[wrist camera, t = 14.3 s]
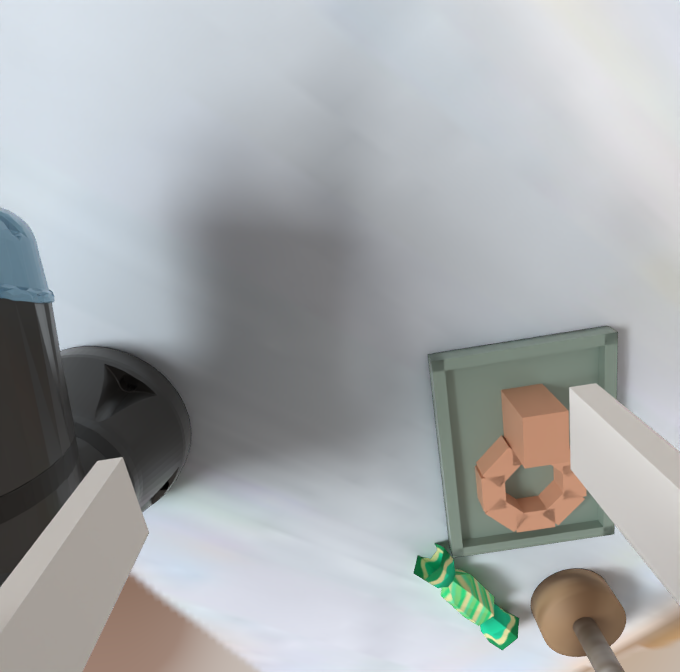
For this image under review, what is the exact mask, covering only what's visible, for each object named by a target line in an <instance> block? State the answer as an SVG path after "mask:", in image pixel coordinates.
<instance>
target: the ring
mask: <svg viewBox="0 0 680 672" xmlns="http://www.w3.org/2000/svg"><path fill="white" fill-rule="evenodd" d="M501 399H502V415H503V431H504V437H503V436H502V435H501V436H500V437H499V438H498V439H497V440H496V441H495V442H494V444H493V445H492V446H491V447H490V448H489V449H488V450H487V451H486V452H485V453H484V454H483V456H482V457H481V458H480V459H479V460H478V461H477V462H476V464H477V465H476V466H475V474H476V485H477V497H478V499H479V502H480V504H481V506H482V508H483V511H484V512H485V514H486V515H488V516H490V517H491V518H493V519H494V520H496V521H497V522H499V523H501V524H502V525H504V526H505V527H507V528H509V529H510V530H512V531H513V532H515V530H516V531H517V533H518V532H524V531H531V530H538V529H545V528H551V527H555V524H557V525H559V524H560V523H561V522H562V521H563V520H564V519H565V518H566V517H567V516H568V515H569V514H570V513H571V512H572V511H573V510H574V509H575V508H577V507H578V506H579V505H580V504H581V503H582V502H583V501H584V500H585V498H584V496H586V488H585V486H584V485H583V484H582V483H581V481H580V480H579V479H578V478H577V476H576V475H575V474H574V473H573V471H572V470H571V463H570V445H569V411H568V410H567V409H566V407H565V406H564V405H563V404H562V403H561V402H560V401H559V400H558V399H557V398H556V397H555V396H554V395H553V394H552V393H551V392H550V391H549V390H548V389H547V388H546V387H545V386H544V385H543V384H536V385H529V386H523V387H517V388H510V389H504V390H501ZM520 465H523V466H524V468H532V467H539V466H545V465H552V466H553V471H554V480H553V481H552V482H551V483H550V484H549V485H548V486H547V487H546V488H545V489H544V490H543V491H542V492H541V493H540V494H539V495H538V496H532V497H525V498H518V499H515V498H514V497H512V496H510V495H509V494H507V493H506V491H505V481H506V480H507V479H508V478H509V477H510V476H511V475H512V474H513V473H514V472H515V471H516V470H517V469H518V468H519V466H520Z"/></svg>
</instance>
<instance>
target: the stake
mask: <svg viewBox="0 0 680 672" xmlns="http://www.w3.org/2000/svg"><path fill="white" fill-rule="evenodd" d="M531 611H532V614H533V616H534V618H535V620H536V622H537V625H538V627H539V629H540V631H541V633H542V636H543V638H544V640H545V642H546V643H547V645H548V646H549V647H550V648H551V649H552V650H554V651H555V652H557V653H559V654H562V655H566V656H572V657H581V656H587V657H588V659H589V661H590V662H591V664H592V666H593V668H594V670H595V672H624V670H623V668H622V666H621V665H620V663H619V661H618V660H617V658H616V656H615V654H614V653H613V651H612V649H611V648H610V646H611V645H612V644H613V643H614V642H615V641H616V640H617V639H618V638H619V637H620V635H621V634H622V632H623V630H624V628H625V624H626V614H625V611H624V609H623V607H622V605H621V604H620V602H619V601H618V599H617V598H616V596H615V595H614V593H613V592H612V590H611V589H610V587H609V586H608V584H607V583H606V581H605V580H604V579H603V578H602V577H601V576H600V575H598V574H597V573H595V572H592V571H590V570H586V569H568V570H563V571H560V572H557V573H555V574H553V575H551V576H549V577H548V578H546V579H545V580H544V581H542V582H541V583H540V584H539V585H538V587H537V588H536V589H535V591H534V593H533V595H532V598H531Z"/></svg>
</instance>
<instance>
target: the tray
mask: <svg viewBox="0 0 680 672" xmlns="http://www.w3.org/2000/svg"><path fill="white" fill-rule="evenodd" d="M617 343H618V332H617V331H615V330H614V329H612V328H610V327H609V326H603V327H596V328H590V329H584V330H577V331H571V332H565V333H559V334H552V335H546V336H540V337H533V338H527V339H521V340H515V341H508V342H502V343H496V344H490V345H483V346H477V347H471V348H464V349H458V350H452V351H446V352H439V353H433V354H428V362H429V371H430V380H431V388H432V397H433V406H434V415H435V424H436V433H437V441H438V450H439V459H440V468H441V477H442V486H443V495H444V503H445V512H446V521H447V530H448V539H449V546H450V550H451V553H452V556H453V558H456V557H463V556H470V555H477V554H484V553H490V552H497V551H504V550H511V549H517V548H524V547H531V546H538V545H545V544H551V543H558V542H565V541H572V540H578V539H585V538H592V537H599V536H605V535H612V534H614V523H613V522H612V520H611V519H610V518H609V517H608V515H607V514H606V513H605V512H604V510H603V509H602V508H601V507H600V505H599V504H598V503H597V502H596V500H595V499H594V498H593V497H592V495H591V494H590V493H589V492H588V490H587V489H586V496H584V498H585V500H584V501H583V502H582V503H581V504H580V505H579V506H578V507H577V508H575V509H574V510H573V511H572V512H571V513H570V514H569V515H568V516H567V517H566V518H565V519H564V520H563V521H562V522H561V523H560V524H559V525H557V524H555V527H551V528H545V529H538V530H531V531H524V532H518V533H517V531H516V530H515V532H513V531H512V530H510V529H509V528H507V527H505V526H504V525H502V524H501V523H499V522H497V521H496V520H494V519H493V518H491V517H490V516H488V515H486V514H485V512H484V511H483V508H482V506H481V504H480V502H479V499H478V497H477V485H476V474H475V466H476V465H477V464H476V462H477V461H478V460H479V459H480V458H481V457H482V456H483V454H484V453H485V452H486V451H487V450H488V449H489V448H490V447H491V446H492V445H493V444H494V442H495V441H496V440H497V439H498V438H499V437H500V436H501V435H502V436H503V437H504V431H503V415H502V399H501V390H504V389H510V388H517V387H523V386H529V385H536V384H543V385H544V386H545V387H546V388H547V389H548V390H549V391H550V392H551V393H552V394H553V395H554V396H555V397H556V398H557V399H558V400H559V401H560V402H561V403H562V404H563V405H564V406H565V407H566V409H567V410H568V411H569V445H570V402H569V387H574V386H581V385H587V384H594V383H596V384H598V385H599V386H600V387H601V388H603V389H604V390H605V391H606V392H607V393H609V394H610V395H611V396H612V397H614V398H615V399H616V400H617ZM553 480H554V471H553V466H552V465H545V466H539V467H532V468H524V466H523V465H520V466H519V468H518V469H517V470H516V471H515V472H514V473H513V474H512V475H511V476H510V477H509V478H508V479H507V480H506V481H505V491H506V493H507V494H509V495H510V496H512V497H514V498H515V499H518V498H525V497H532V496H538V495H539V494H540V493H541V492H542V491H543V490H544V489H545V488H546V487H547V486H548V485H549V484H550V483H551V482H552V481H553Z"/></svg>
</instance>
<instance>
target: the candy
mask: <svg viewBox="0 0 680 672" xmlns="http://www.w3.org/2000/svg"><path fill="white" fill-rule="evenodd" d="M435 545H436V547H437V551H436V553H435V554H434V555H433V557H432V558H431V559H429V558H423V557H420V556H419V555H418V557H417V561H416V565H415V569H414V574H415V575H417V576H419V577H420V578H422V579H424V580H425V581H427V582H428V583H430V584H432V585H433V586H435V587H437V588H442V590H441V596H442V597H443V598H444V599H445V600H446V601H447V602H448V603H449V604H451V605H452V606H453V607H454V608H455V609H456V610H457V611H458V612H459V613H460V614H462V615H463V616H464V617H465V618H467V619H468V620H470V621H471V622H473V623H475V624H476V625H478V626H479V625H480V627H481V632H482V633H483V634H484V635H485V637H486V638H487V639H488V641H489V642H490V643H492V644H493V645H495V646H496V647H498V648H500V649H501V650H503V649H505V648H506V647H507V646H508V645H510V644H511V643H512V642H513V641H515V640H516V639H517V638H518V626H519V618H518V617H516V616H514V615H512V614H510V613H508V612H506V611H505V610H503V609H502V608H500V607H499V606H497V605H496V604H494V596H493V595H492V594H491V593H490V592H489V591H487V590H486V589H485V588H484V587H483V586H482V585H481V584H480V583H479V582H478V581H477V580H476V579H475V578H474V577H473V576H472V575H470V574H468V573H466V572H464V571H462V570H460V569H455V566H454V560H453V558H452V557H451V556H450V554H449V553H448V552H447V550H446V549H445V548H444V547H442V546H440V545H438V544H436V543H435Z"/></svg>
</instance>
